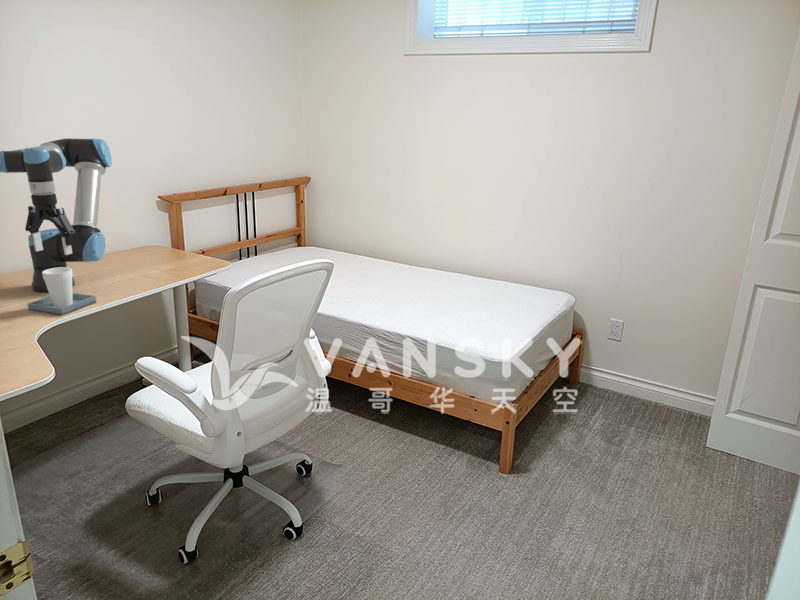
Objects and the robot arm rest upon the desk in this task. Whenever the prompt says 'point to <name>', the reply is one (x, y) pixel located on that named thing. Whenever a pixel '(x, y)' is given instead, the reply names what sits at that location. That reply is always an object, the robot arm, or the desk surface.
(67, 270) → the foam cup
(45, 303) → the grey tray
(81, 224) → the robot arm
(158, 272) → the desk surface
